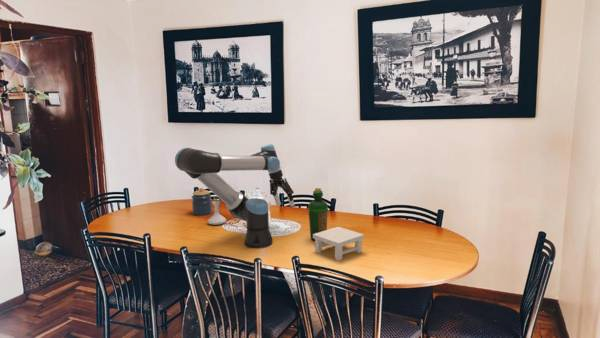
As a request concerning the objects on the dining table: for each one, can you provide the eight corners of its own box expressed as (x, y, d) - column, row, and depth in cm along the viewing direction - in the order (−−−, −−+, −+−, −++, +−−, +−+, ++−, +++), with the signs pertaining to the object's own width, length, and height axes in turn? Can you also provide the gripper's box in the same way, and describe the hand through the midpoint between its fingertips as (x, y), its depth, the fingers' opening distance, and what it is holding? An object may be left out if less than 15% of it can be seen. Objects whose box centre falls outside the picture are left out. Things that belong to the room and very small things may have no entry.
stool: (338, 261, 199) (338, 243, 198) (313, 251, 213) (312, 234, 211) (364, 251, 211) (364, 234, 209) (338, 242, 224) (338, 226, 223)
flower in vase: (216, 227, 256) (214, 186, 252) (203, 224, 263) (201, 184, 258) (232, 222, 266) (230, 183, 262) (219, 219, 273) (217, 181, 269)
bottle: (328, 242, 226) (328, 190, 221) (308, 242, 226) (307, 191, 222) (327, 235, 237) (327, 186, 232) (308, 235, 237) (307, 186, 232)
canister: (191, 212, 291) (189, 187, 288) (209, 209, 296) (208, 185, 293) (194, 216, 279) (193, 190, 276) (214, 214, 285) (212, 188, 282)
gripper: (292, 168, 235) (303, 203, 239) (268, 169, 255) (278, 202, 258) (282, 172, 231) (293, 208, 234) (258, 174, 250) (268, 207, 254)
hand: (285, 205), depth 246 cm, fingers open, 13 cm apart
